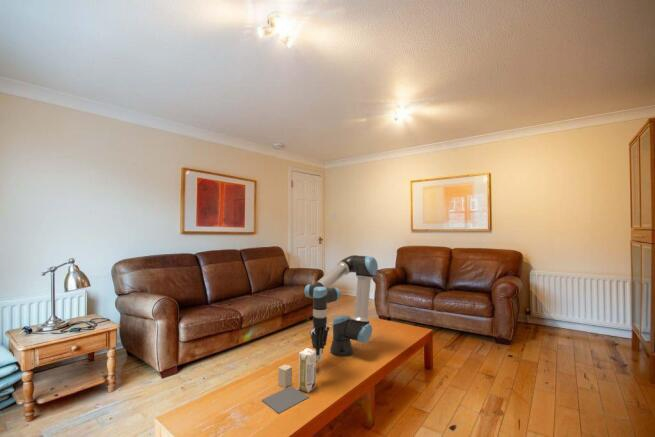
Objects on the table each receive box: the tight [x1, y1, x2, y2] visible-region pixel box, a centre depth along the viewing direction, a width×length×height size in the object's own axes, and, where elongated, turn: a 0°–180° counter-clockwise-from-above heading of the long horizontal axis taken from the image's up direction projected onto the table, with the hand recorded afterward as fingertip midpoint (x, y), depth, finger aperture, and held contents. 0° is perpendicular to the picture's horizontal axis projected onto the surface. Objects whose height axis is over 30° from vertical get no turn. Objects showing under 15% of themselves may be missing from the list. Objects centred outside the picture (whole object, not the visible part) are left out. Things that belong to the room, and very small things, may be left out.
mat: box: [261, 385, 310, 415], centre depth 145 cm, size 18×14×1 cm
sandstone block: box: [277, 364, 293, 389], centre depth 158 cm, size 5×5×9 cm
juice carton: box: [298, 347, 317, 393], centre depth 155 cm, size 8×9×19 cm
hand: (319, 360), depth 160 cm, fingers closed
